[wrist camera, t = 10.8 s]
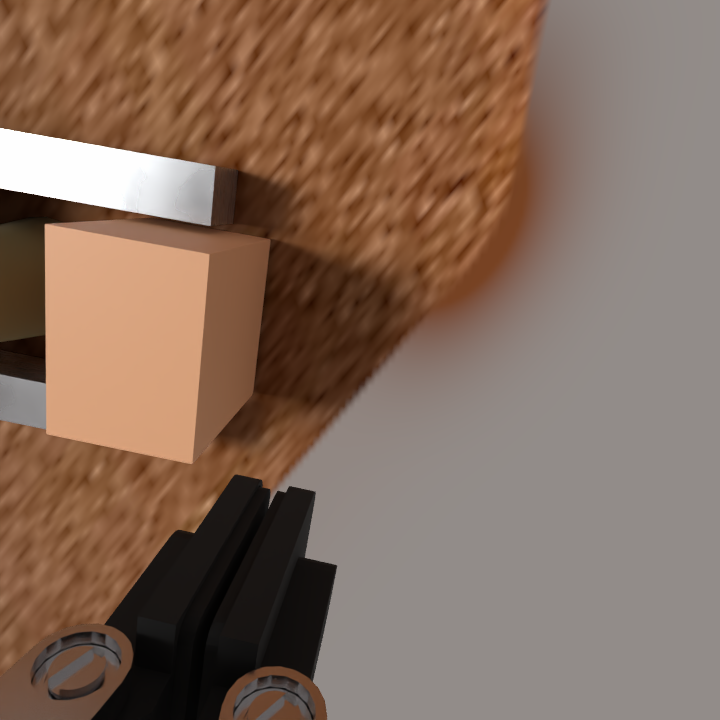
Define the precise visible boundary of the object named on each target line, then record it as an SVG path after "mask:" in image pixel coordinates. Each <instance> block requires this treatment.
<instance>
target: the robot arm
mask: <svg viewBox="0 0 720 720" xmlns="http://www.w3.org/2000/svg"><path fill="white" fill-rule="evenodd" d="M262 486H263V484H262V480H259V479H255V478H250V477H246V476H241V475H234V477H233V478H232V479H231V481H230V482H229V484H228V485H227V487H226V488H225V490H224V491H223V492H222V494H221V495H220V497H219V498H218V500H217V501H216V503H215V504H214V506H213V507H212V508H211V510H210V511H209V513H208V514H207V516H206V517H205V519H204V520H203V522H202V523H201V525H200V526H199V527H198V529H197V530H196V532H195V533H191V532H187V531H182V530H177V531H175V532H174V533H173V534H172V535H171V537H170V538H169V539H168V541H167V542H166V543H165V545H164V546H163V547H162V549H161V550H160V551H159V553H158V554H157V555H156V557H155V558H154V559H153V561H152V562H151V563H150V565H149V566H148V567H147V569H146V570H145V571H144V573H143V574H142V575H141V577H140V578H139V579H138V581H137V582H136V583H135V585H134V586H133V587H132V589H131V590H130V591H129V593H128V594H127V595H126V596H125V598H124V599H123V600H122V602H121V603H120V604H119V606H118V607H117V608H116V610H115V611H114V612H113V614H112V615H111V616H110V618H109V619H108V620H107V622H106V623H105V624H104V625H102V624H80V625H76V626H72V627H67V628H64V629H62V630H60V631H58V632H55V633H53V634H51V635H49V636H47V637H46V638H45V639H43V640H42V641H41V642H39V643H38V644H36V645H35V646H34V647H33V648H32V649H31V650H29V651H28V652H27V653H26V654H25V655H24V656H23V657H22V658H21V659H20V660H18V661H17V662H16V663H15V664H14V665H13V666H12V667H11V668H10V669H8V670H7V671H6V672H5V673H4V674H3V675H2V676H1V677H0V720H327V713H326V706H325V700H324V698H323V696H322V694H321V693H320V691H319V689H318V687H317V686H316V685H315V684H314V683H313V678H314V673H315V669H316V664H317V660H318V656H319V651H320V647H321V642H322V638H323V633H324V628H325V624H326V619H327V614H328V609H329V605H330V599H331V594H332V590H333V584H334V579H335V574H336V569H337V565H333V564H329V563H325V562H320V561H316V560H311V559H307V558H305V552H306V547H307V541H308V535H309V530H310V524H311V518H312V513H313V507H314V501H315V494H316V493H315V492H314V491H310V490H305V489H301V488H296V487H292V486H289V488H288V490H287V492H286V493H284V492H281V491H277V493H276V495H275V497H274V499H273V501H272V503H271V505H270V507H269V500H270V489H267V488H262ZM268 507H269V509H268Z"/></svg>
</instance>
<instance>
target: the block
mask: <svg viewBox="0 0 720 720" xmlns="http://www.w3.org/2000/svg"><path fill="white" fill-rule="evenodd" d="M270 242H271V239H267V238H262V237H256V236H251V235H245V234H240V233H234V232H229V231H223V230H218V229H212V228H207V227H201V226H196V225H190V224H185V223H179V222H174V221H168V220H163V219H157V218H139V219H121V220H104V221H87V222H70V223H52V224H45V317H46V434H49V435H53V436H58V437H63V438H68V439H73V440H78V441H82V442H87V443H92V444H97V445H102V446H107V447H112V448H116V449H121V450H126V451H131V452H136V453H141V454H146V455H150V456H155V457H160V458H165V459H170V460H175V461H179V462H184V463H189V464H193V463H194V462H195V460H196V459H197V458H198V457H199V456H200V455H201V454H202V452H203V451H204V450H205V449H206V448H207V447H208V445H209V444H210V443H211V442H212V441H213V440H214V439H215V437H216V436H217V435H218V434H219V433H220V432H221V431H222V429H223V428H224V427H225V426H226V425H227V424H228V422H229V421H230V420H231V419H232V418H233V417H234V416H235V414H236V413H237V412H238V411H239V410H240V409H241V407H242V406H243V405H244V404H245V403H246V402H247V401H248V399H249V398H250V397H251V396H252V395H253V389H254V381H255V372H256V363H257V355H258V346H259V337H260V329H261V320H262V311H263V302H264V294H265V285H266V276H267V268H268V259H269V250H270Z"/></svg>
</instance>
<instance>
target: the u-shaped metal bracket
mask: <svg viewBox="0 0 720 720" xmlns="http://www.w3.org/2000/svg"><path fill="white" fill-rule="evenodd" d="M237 178H238V170H234V169H228V168H223V167H217V166H211V165H206V164H200V163H194V162H188V161H183V160H177V159H171V158H166V157H160V156H154V155H148V154H143V153H137V152H131V151H126V150H120V149H114V148H108V147H103V146H97V145H91V144H86V143H80V142H74V141H68V140H63V139H57V138H51V137H45V136H40V135H34V134H28V133H23V132H17V131H11V130H5V129H0V188H3V189H9V190H14V191H20V192H25V193H31V194H36V195H42V196H47V197H53V198H58V199H64V200H69V201H75V202H81V203H86V204H92V205H97V206H103V207H108V208H114V209H119V210H125V211H130V212H136V213H141V214H147V215H152V216H158V217H163V218H169V219H174V220H180V221H185V222H191V223H196V224H202V225H207V226H215V225H224V224H233V220H234V210H235V199H236V188H237ZM0 420H3V421H8V422H13V423H18V424H23V425H28V426H33V427H37V428H42V429H46V359H44V358H39V357H34V356H29V355H24V354H19V353H14V352H9V351H4V350H0Z"/></svg>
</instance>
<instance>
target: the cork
mask: <svg viewBox="0 0 720 720" xmlns="http://www.w3.org/2000/svg"><path fill="white" fill-rule="evenodd" d="M52 223H65V222H62V221H58V220H55V219H52V218H49V217H29V218H25V219H21V220H17V221H13V222H9V223H4V224H0V342H4V341H10V340H17V339H23V338H29V337H36V336H42V335H46V317H45V224H52Z"/></svg>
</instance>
